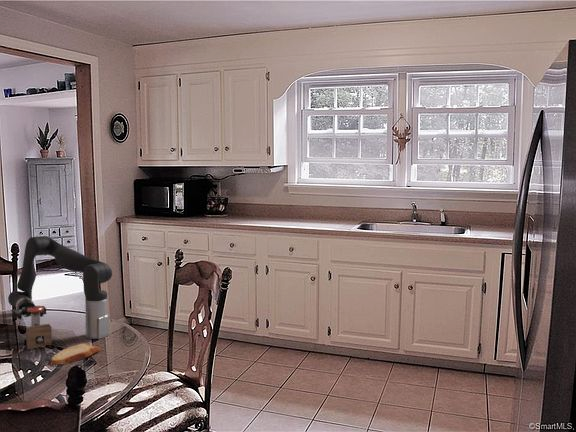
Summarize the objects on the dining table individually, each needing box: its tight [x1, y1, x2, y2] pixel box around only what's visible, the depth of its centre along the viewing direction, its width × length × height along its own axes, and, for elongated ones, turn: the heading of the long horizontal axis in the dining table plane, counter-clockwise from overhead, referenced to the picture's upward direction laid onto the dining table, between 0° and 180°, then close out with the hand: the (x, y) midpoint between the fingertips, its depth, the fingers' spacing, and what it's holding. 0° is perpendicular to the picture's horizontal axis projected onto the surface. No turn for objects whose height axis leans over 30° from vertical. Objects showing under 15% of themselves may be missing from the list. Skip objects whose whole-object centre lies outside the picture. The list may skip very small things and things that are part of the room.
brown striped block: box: [25, 323, 53, 351], centre depth 219 cm, size 5×9×8 cm, turn 125°
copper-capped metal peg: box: [27, 305, 45, 343], centre depth 222 cm, size 14×6×14 cm, turn 35°
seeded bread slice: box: [49, 342, 101, 365], centre depth 210 cm, size 18×18×4 cm
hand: (31, 316), depth 234 cm, fingers open, 8 cm apart
